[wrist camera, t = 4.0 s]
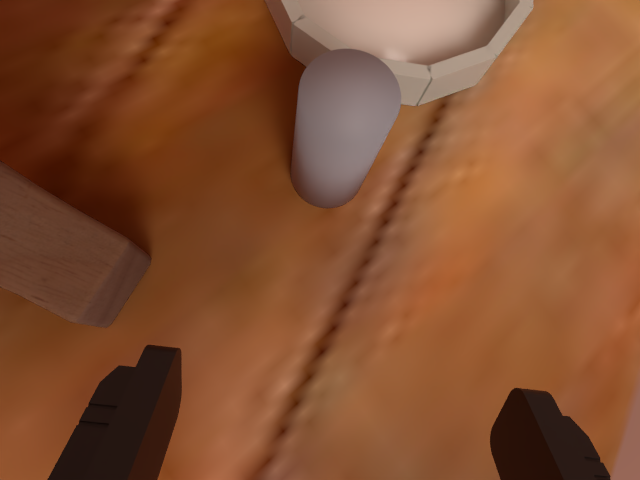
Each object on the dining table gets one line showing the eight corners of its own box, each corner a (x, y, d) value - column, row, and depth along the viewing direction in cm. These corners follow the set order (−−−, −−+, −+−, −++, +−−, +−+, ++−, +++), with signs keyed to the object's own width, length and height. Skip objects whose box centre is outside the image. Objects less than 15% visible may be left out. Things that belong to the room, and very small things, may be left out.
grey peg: (286, 202, 28) (292, 133, 19) (295, 135, 29) (305, 41, 20) (358, 212, 28) (397, 148, 19) (365, 146, 29) (404, 57, 20)
